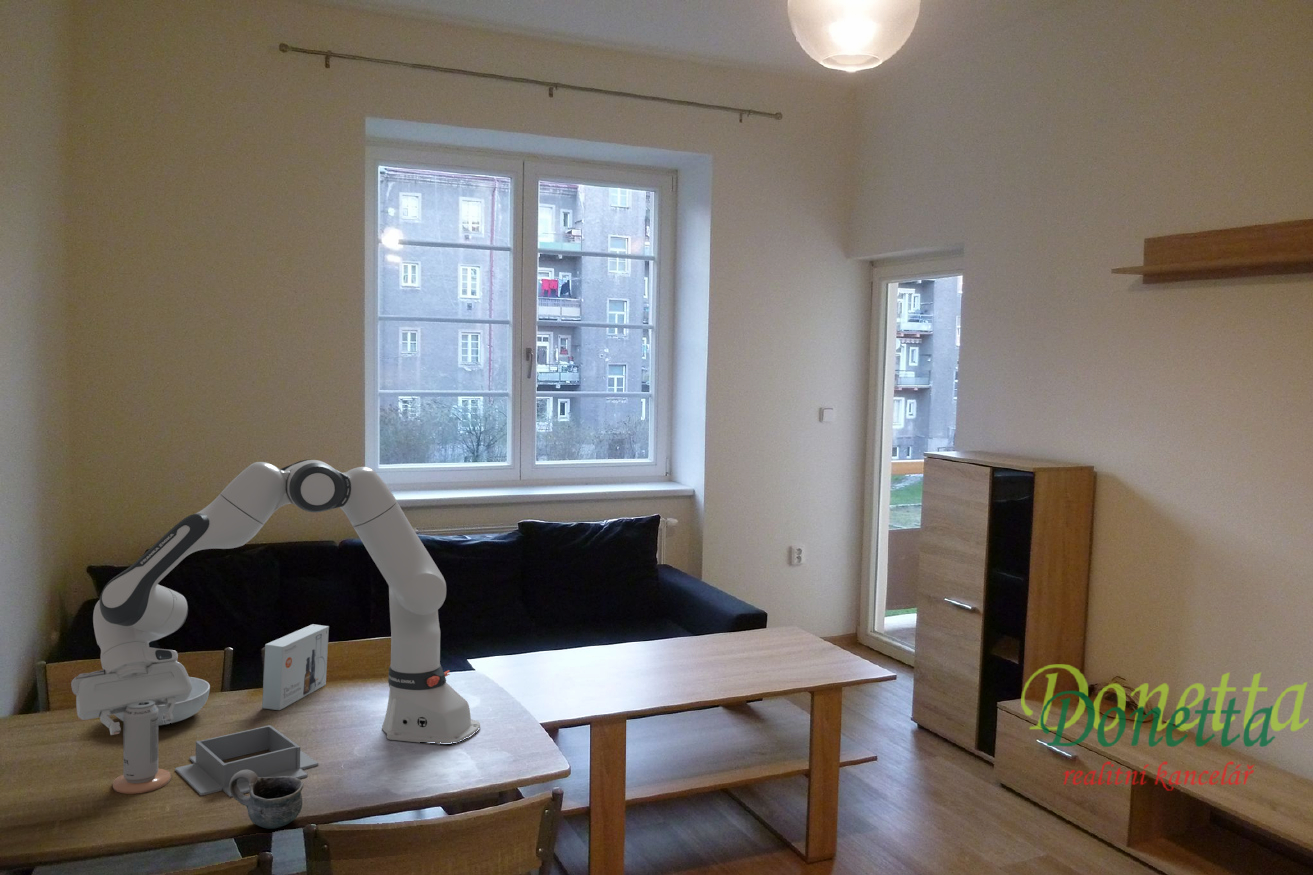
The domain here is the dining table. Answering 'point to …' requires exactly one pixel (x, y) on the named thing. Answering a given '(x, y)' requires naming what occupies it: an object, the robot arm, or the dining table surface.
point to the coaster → (134, 788)
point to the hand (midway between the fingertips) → (142, 727)
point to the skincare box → (295, 666)
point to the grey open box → (243, 760)
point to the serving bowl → (185, 702)
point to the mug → (269, 798)
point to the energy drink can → (140, 741)
